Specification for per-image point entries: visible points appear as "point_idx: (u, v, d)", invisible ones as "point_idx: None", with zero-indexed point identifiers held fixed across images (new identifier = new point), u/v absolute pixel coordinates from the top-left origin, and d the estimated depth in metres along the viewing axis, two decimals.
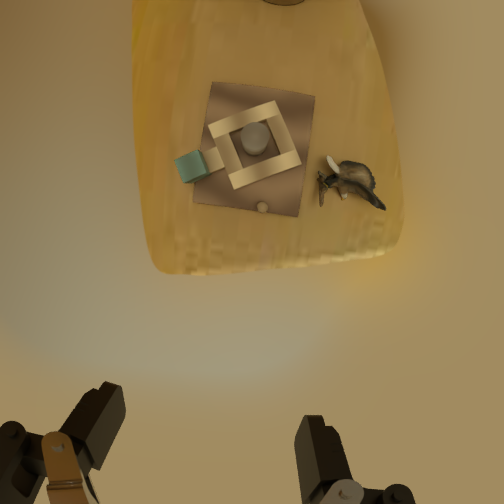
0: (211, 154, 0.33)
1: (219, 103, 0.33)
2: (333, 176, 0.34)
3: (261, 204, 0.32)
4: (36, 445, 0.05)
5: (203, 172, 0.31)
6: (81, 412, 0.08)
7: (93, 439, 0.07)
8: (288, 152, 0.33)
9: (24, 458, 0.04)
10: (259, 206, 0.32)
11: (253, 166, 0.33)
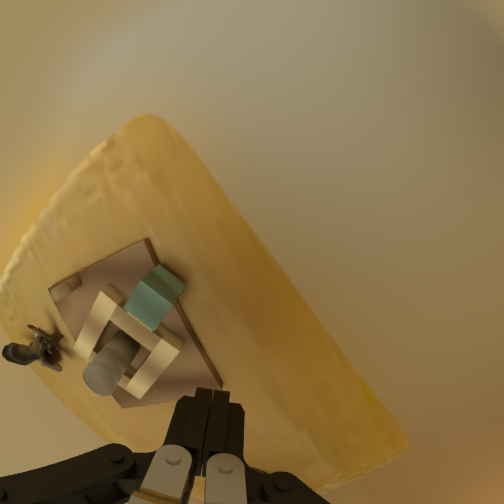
0: None
1: (195, 371, 0.26)
2: None
3: (58, 298, 0.20)
4: (143, 465, 0.06)
5: (126, 306, 0.19)
6: (181, 421, 0.09)
7: (202, 446, 0.08)
8: (89, 355, 0.24)
9: (117, 482, 0.05)
10: (58, 294, 0.20)
11: (102, 326, 0.23)
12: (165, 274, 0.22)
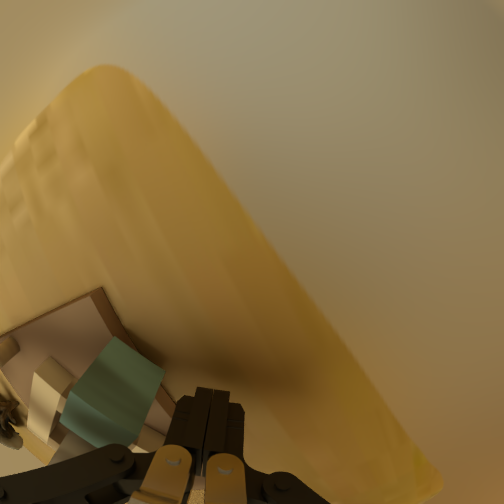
0: None
1: None
2: (5, 419, 0.13)
3: None
4: (143, 465, 0.06)
5: (63, 420, 0.08)
6: (181, 421, 0.09)
7: (202, 446, 0.08)
8: (46, 439, 0.12)
9: (117, 482, 0.05)
10: None
11: (51, 415, 0.11)
12: (125, 359, 0.11)
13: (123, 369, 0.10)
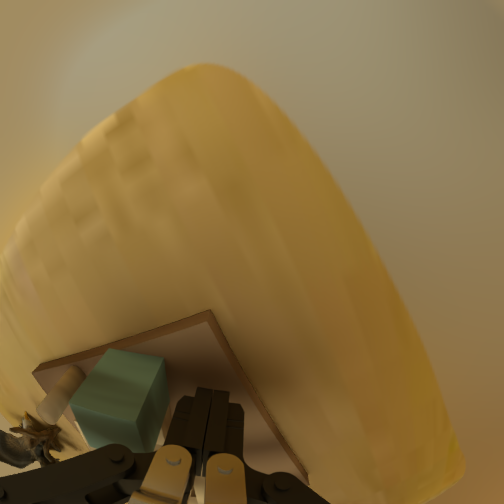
0: None
1: None
2: None
3: (52, 421, 0.09)
4: (143, 465, 0.06)
5: (90, 443, 0.08)
6: (181, 421, 0.09)
7: (202, 446, 0.08)
8: None
9: (117, 482, 0.05)
10: (50, 417, 0.09)
11: None
12: (120, 361, 0.11)
13: (118, 370, 0.10)
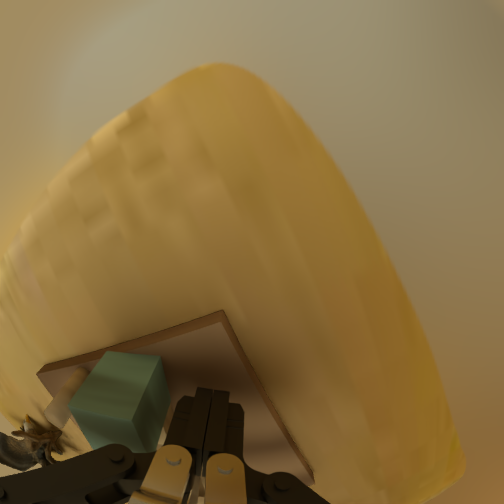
0: None
1: None
2: None
3: (60, 424, 0.09)
4: (143, 465, 0.06)
5: (93, 445, 0.08)
6: (181, 421, 0.09)
7: (202, 446, 0.08)
8: None
9: (117, 482, 0.05)
10: (59, 420, 0.09)
11: None
12: (117, 363, 0.11)
13: (116, 371, 0.10)
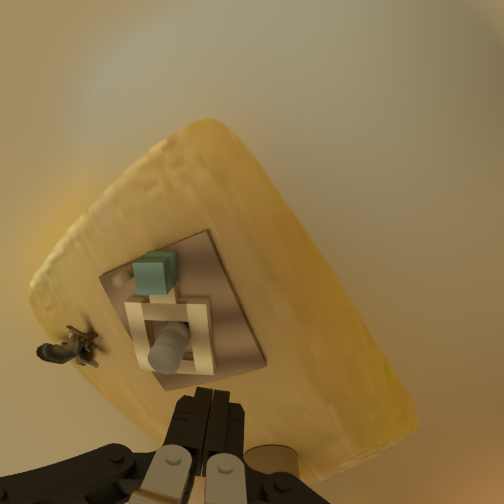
0: (168, 294, 0.27)
1: (243, 349, 0.30)
2: (85, 348, 0.30)
3: (120, 284, 0.24)
4: (143, 465, 0.06)
5: (137, 291, 0.24)
6: (181, 421, 0.09)
7: (202, 446, 0.08)
8: None
9: (117, 482, 0.05)
10: (121, 281, 0.24)
11: (144, 330, 0.28)
12: (155, 253, 0.26)
13: (155, 254, 0.26)
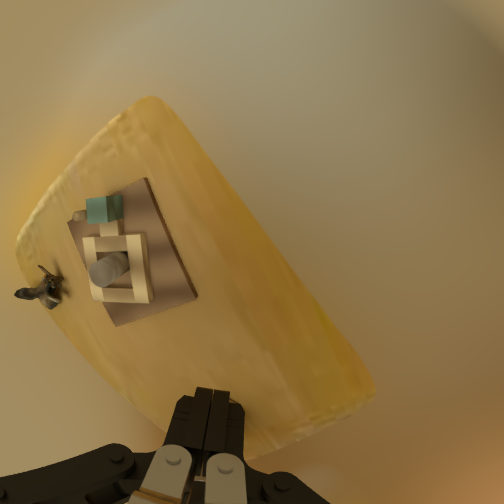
0: (113, 228, 0.32)
1: (175, 281, 0.35)
2: (52, 289, 0.35)
3: (78, 218, 0.29)
4: (143, 465, 0.06)
5: (88, 221, 0.29)
6: (181, 421, 0.09)
7: (202, 446, 0.08)
8: (102, 294, 0.34)
9: (117, 482, 0.05)
10: (78, 215, 0.29)
11: (95, 261, 0.33)
12: None
13: None
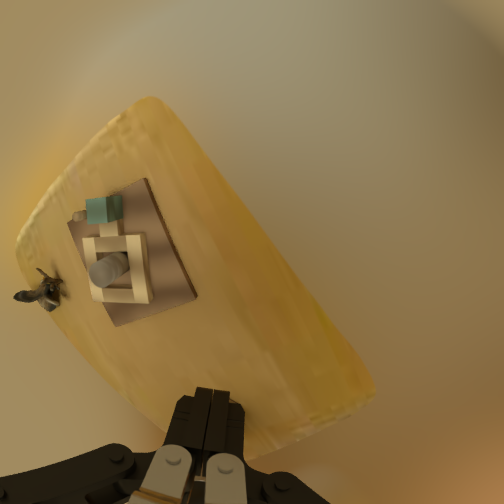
0: (112, 228, 0.32)
1: (174, 281, 0.35)
2: (51, 291, 0.35)
3: (77, 218, 0.29)
4: (143, 464, 0.06)
5: (88, 221, 0.29)
6: (181, 421, 0.09)
7: (202, 446, 0.08)
8: (102, 294, 0.34)
9: (117, 482, 0.05)
10: (78, 216, 0.29)
11: (95, 261, 0.33)
12: None
13: None
